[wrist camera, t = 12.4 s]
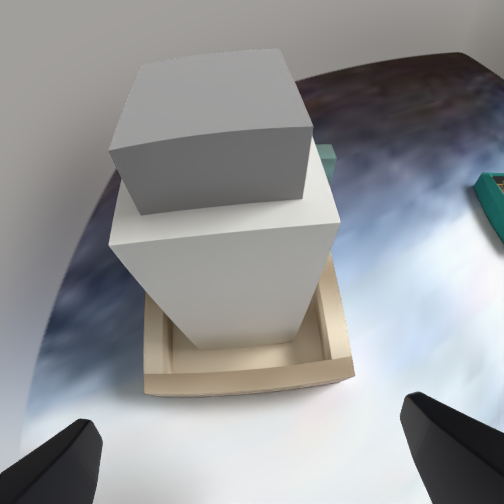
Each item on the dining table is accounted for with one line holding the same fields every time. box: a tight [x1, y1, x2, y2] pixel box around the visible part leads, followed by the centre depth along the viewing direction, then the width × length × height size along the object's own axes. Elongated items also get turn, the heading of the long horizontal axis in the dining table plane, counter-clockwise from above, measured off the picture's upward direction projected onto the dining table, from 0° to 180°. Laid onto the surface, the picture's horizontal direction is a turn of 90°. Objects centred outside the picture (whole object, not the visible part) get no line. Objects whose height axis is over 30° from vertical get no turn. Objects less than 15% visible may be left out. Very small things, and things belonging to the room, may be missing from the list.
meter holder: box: [144, 145, 355, 397], centre depth 14 cm, size 10×10×7 cm
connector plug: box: [108, 49, 341, 350], centre depth 11 cm, size 5×5×13 cm
